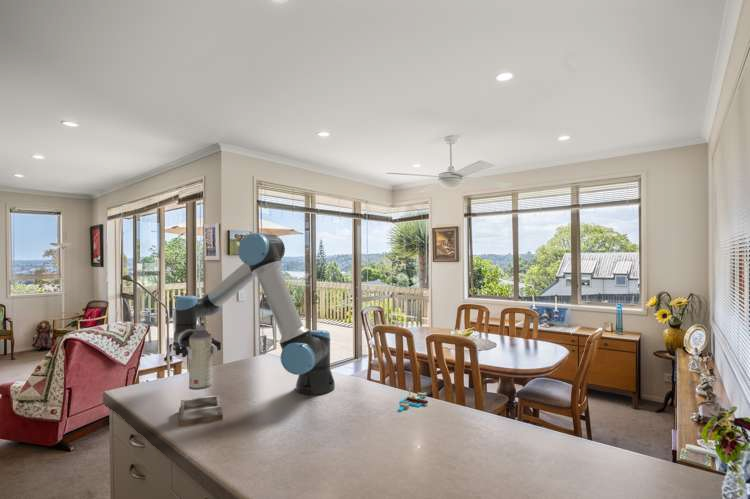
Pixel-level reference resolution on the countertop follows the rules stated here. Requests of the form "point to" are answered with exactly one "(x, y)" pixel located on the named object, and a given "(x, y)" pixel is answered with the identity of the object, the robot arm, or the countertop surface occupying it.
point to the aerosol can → (200, 359)
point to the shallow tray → (200, 410)
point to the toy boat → (412, 399)
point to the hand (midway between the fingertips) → (203, 353)
